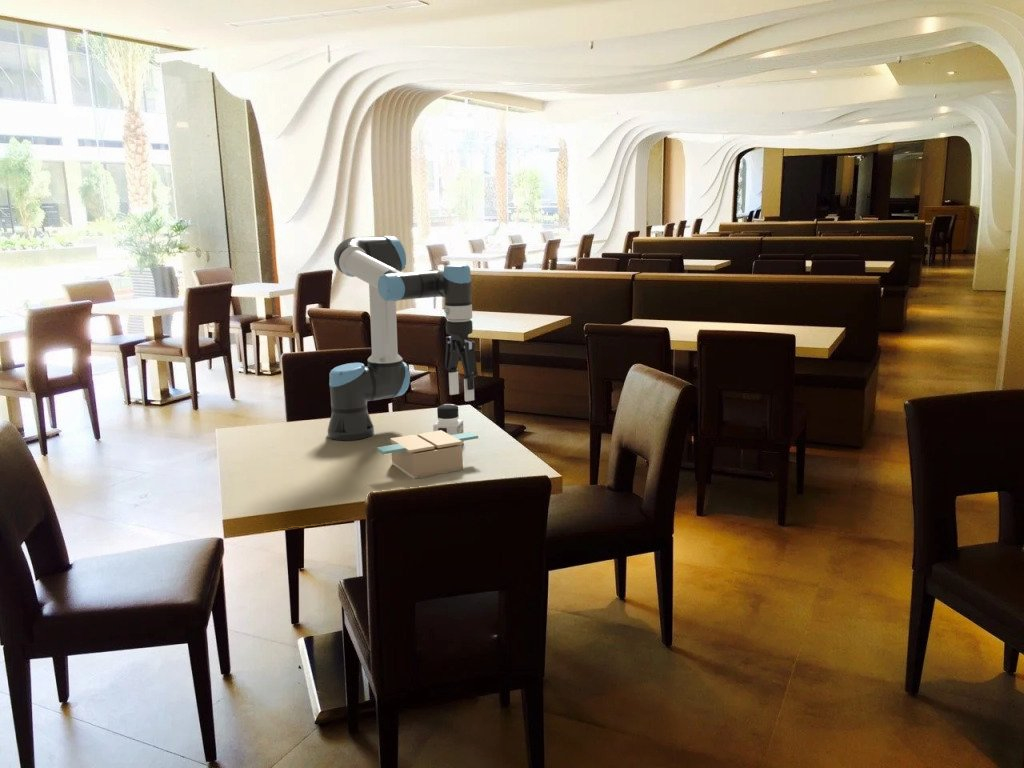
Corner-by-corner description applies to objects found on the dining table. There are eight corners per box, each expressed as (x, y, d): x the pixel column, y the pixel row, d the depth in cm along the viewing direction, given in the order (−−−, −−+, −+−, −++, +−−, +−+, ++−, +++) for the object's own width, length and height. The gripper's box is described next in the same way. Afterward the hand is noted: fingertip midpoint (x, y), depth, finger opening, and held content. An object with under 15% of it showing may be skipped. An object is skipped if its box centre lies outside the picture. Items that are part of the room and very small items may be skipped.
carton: (392, 463, 240) (390, 440, 239) (438, 455, 247) (437, 433, 246) (414, 479, 226) (412, 454, 225) (462, 469, 233) (462, 446, 232)
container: (457, 449, 253) (456, 408, 251) (433, 448, 255) (432, 408, 252) (464, 442, 261) (462, 402, 258) (440, 441, 262) (439, 402, 260)
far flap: (417, 436, 242) (417, 433, 241) (460, 429, 248) (460, 427, 248) (437, 448, 229) (437, 445, 229) (482, 440, 236) (482, 437, 236)
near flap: (368, 444, 234) (368, 441, 234) (414, 437, 241) (414, 434, 241) (386, 456, 222) (386, 454, 222) (434, 448, 229) (434, 445, 229)
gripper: (431, 317, 239) (434, 392, 244) (464, 325, 220) (466, 406, 225) (454, 315, 243) (457, 388, 247) (488, 322, 224) (491, 402, 228)
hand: (461, 397), depth 236 cm, fingers open, 9 cm apart
